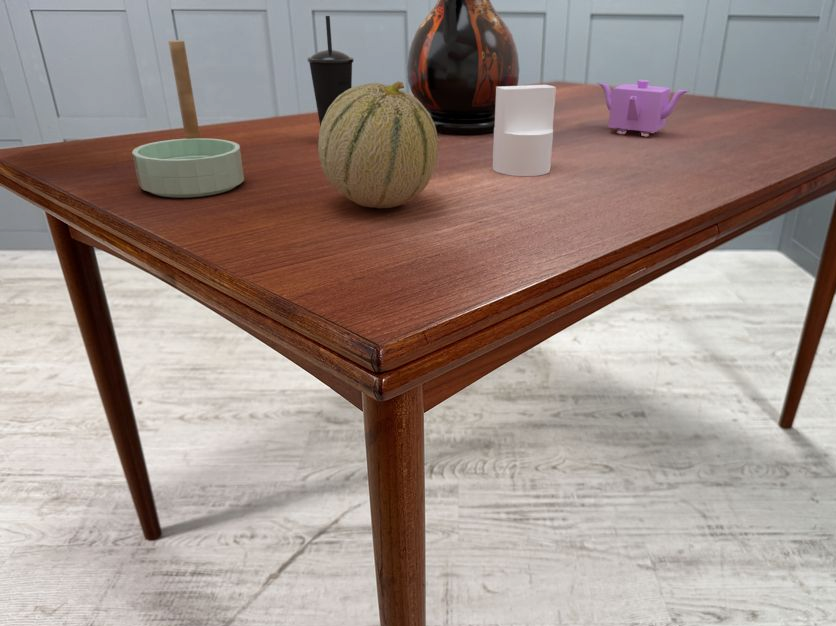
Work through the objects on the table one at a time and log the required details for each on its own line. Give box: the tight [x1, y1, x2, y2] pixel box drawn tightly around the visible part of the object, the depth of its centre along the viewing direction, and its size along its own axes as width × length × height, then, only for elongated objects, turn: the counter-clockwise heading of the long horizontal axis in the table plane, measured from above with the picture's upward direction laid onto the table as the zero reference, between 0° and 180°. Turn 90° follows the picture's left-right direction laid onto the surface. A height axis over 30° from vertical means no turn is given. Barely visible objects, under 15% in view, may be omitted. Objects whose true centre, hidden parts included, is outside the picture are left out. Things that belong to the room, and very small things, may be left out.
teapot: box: [596, 79, 690, 134], centre depth 129 cm, size 18×13×10 cm
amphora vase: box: [406, 0, 520, 135], centre depth 126 cm, size 22×22×28 cm
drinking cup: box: [306, 15, 355, 127], centre depth 114 cm, size 8×8×20 cm
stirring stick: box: [167, 39, 201, 139], centre depth 111 cm, size 2×2×16 cm
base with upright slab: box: [492, 84, 557, 177], centre depth 101 cm, size 9×9×12 cm
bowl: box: [131, 137, 245, 198], centre depth 90 cm, size 13×13×5 cm
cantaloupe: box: [317, 80, 439, 209], centre depth 82 cm, size 15×15×15 cm
